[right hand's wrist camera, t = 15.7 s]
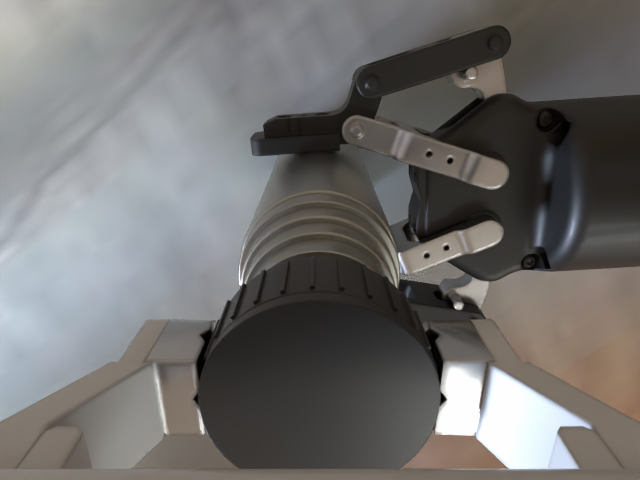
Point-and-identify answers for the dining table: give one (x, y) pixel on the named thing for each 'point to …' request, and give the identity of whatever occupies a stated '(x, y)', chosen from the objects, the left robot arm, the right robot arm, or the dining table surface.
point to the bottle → (319, 216)
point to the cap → (319, 371)
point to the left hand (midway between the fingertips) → (262, 205)
